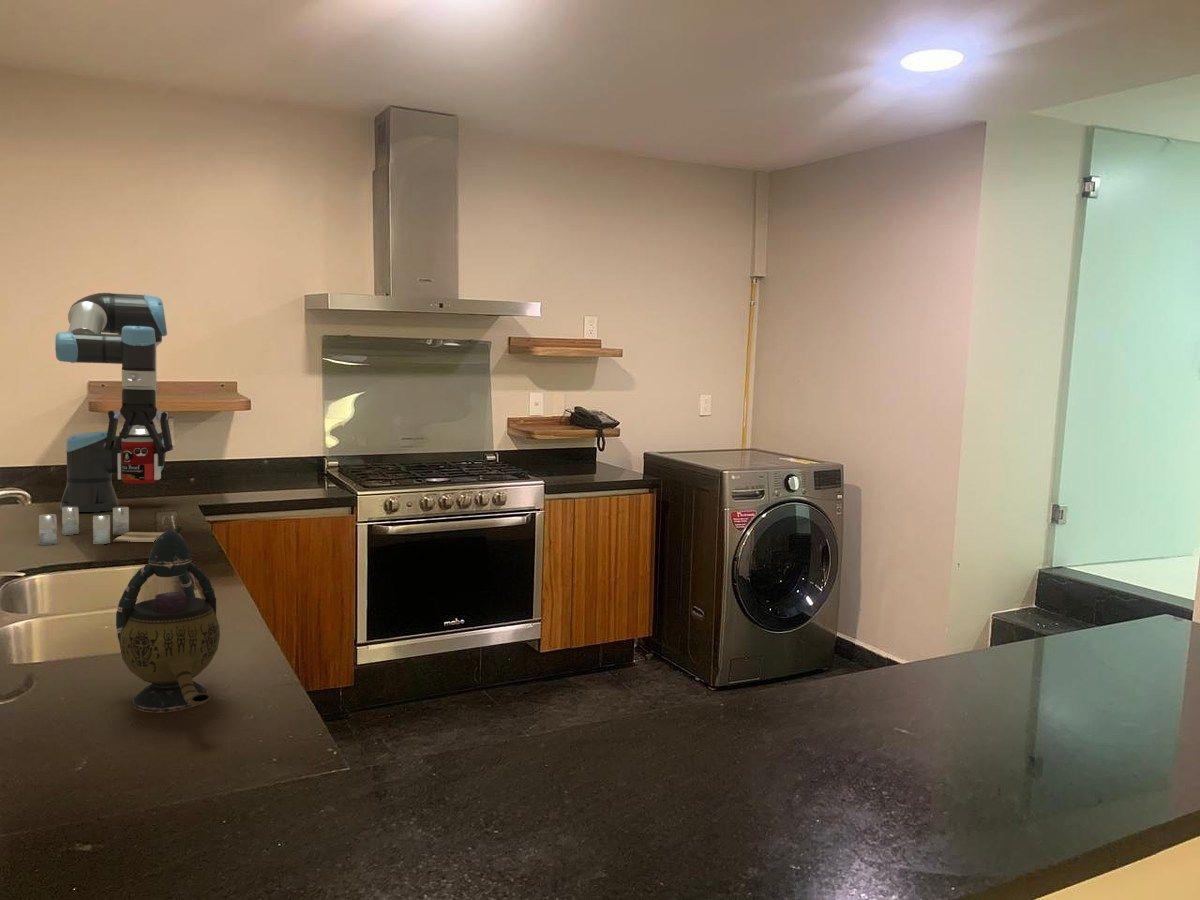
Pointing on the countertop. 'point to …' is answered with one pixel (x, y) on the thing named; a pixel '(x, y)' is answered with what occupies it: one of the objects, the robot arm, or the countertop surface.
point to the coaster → (139, 536)
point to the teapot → (168, 630)
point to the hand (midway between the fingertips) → (139, 478)
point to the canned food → (138, 460)
